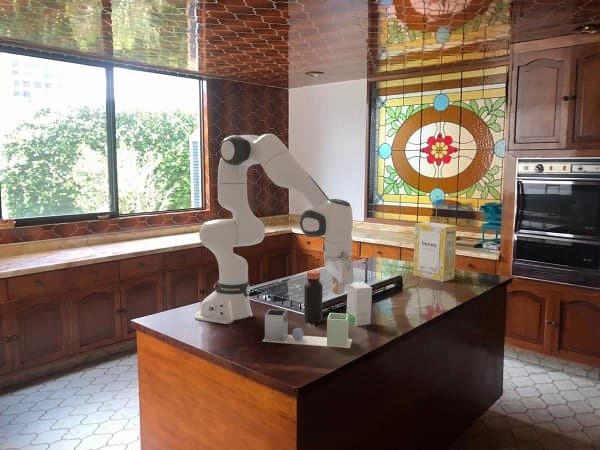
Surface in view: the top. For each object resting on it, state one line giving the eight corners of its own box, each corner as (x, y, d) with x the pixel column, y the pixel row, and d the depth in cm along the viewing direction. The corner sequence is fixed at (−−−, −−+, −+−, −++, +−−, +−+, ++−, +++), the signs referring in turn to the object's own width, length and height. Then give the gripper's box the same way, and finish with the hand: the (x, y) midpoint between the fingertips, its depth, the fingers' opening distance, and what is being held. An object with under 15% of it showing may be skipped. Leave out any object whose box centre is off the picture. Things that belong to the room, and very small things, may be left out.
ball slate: (290, 341, 159) (290, 329, 159) (293, 336, 163) (293, 325, 163) (302, 342, 159) (302, 330, 158) (304, 337, 162) (304, 326, 162)
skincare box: (345, 322, 182) (346, 282, 179) (361, 320, 184) (361, 281, 182) (355, 329, 174) (356, 288, 172) (371, 327, 176) (372, 286, 174)
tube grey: (265, 340, 160) (264, 315, 159) (269, 333, 166) (269, 309, 165) (283, 342, 159) (283, 316, 157) (287, 335, 165) (287, 310, 164)
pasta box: (413, 275, 255) (415, 223, 251) (424, 272, 262) (426, 221, 258) (443, 281, 241) (445, 227, 237) (454, 278, 248) (456, 225, 244)
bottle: (311, 319, 185) (311, 269, 182) (325, 322, 181) (326, 271, 178) (300, 323, 180) (300, 272, 177) (314, 327, 175) (315, 275, 173)
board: (262, 344, 160) (262, 341, 159) (268, 336, 167) (267, 333, 167) (350, 351, 154) (350, 347, 154) (352, 342, 161) (352, 339, 161)
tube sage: (326, 345, 156) (327, 319, 155) (329, 338, 162) (329, 312, 161) (346, 346, 155) (346, 320, 153) (348, 339, 161) (348, 314, 160)
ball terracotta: (330, 295, 155) (330, 283, 154) (334, 292, 159) (334, 280, 158) (342, 296, 153) (342, 284, 153) (345, 293, 157) (345, 281, 157)
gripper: (359, 255, 145) (358, 299, 147) (338, 243, 164) (338, 282, 166) (339, 256, 143) (338, 300, 145) (320, 244, 163) (320, 283, 165)
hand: (338, 290), depth 156 cm, fingers closed on ball terracotta, 4 cm apart
